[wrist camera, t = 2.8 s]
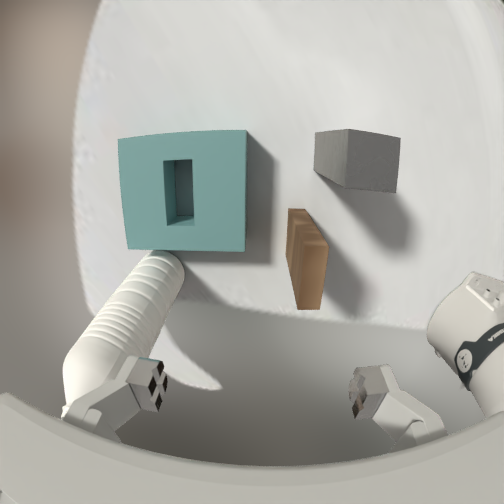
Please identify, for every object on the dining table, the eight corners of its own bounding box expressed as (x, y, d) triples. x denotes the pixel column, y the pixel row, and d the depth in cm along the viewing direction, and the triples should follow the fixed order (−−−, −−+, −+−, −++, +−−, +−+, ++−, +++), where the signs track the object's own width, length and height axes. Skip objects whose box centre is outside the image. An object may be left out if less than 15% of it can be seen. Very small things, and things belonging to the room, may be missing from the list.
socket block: (247, 131, 28) (245, 130, 25) (246, 239, 34) (244, 251, 30) (133, 138, 29) (117, 139, 25) (140, 237, 34) (128, 249, 30)
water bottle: (133, 257, 35) (24, 394, 12) (173, 243, 34) (68, 401, 11) (161, 308, 38) (93, 457, 15) (199, 298, 37) (148, 467, 14)
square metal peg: (351, 136, 28) (400, 137, 17) (349, 173, 30) (395, 193, 19) (315, 132, 28) (348, 128, 17) (313, 170, 30) (344, 188, 19)
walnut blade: (305, 209, 32) (329, 246, 21) (301, 255, 34) (319, 309, 23) (288, 208, 32) (304, 246, 21) (285, 254, 34) (297, 309, 23)
